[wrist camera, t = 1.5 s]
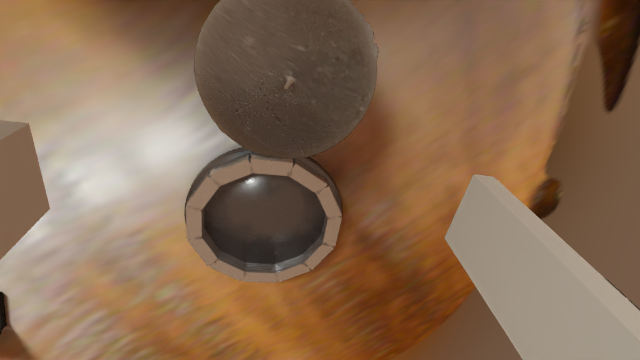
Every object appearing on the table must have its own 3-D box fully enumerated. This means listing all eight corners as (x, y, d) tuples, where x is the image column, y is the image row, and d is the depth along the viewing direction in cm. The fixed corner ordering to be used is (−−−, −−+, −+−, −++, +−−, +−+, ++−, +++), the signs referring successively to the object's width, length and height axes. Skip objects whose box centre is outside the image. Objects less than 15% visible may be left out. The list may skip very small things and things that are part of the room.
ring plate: (184, 136, 33) (177, 147, 31) (354, 153, 36) (359, 164, 34) (188, 267, 41) (183, 282, 39) (327, 272, 44) (329, 287, 42)
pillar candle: (269, 115, 33) (268, 201, 20) (199, 20, 28) (139, 53, 15) (357, 57, 31) (417, 111, 18) (297, -53, 27) (324, -86, 14)
